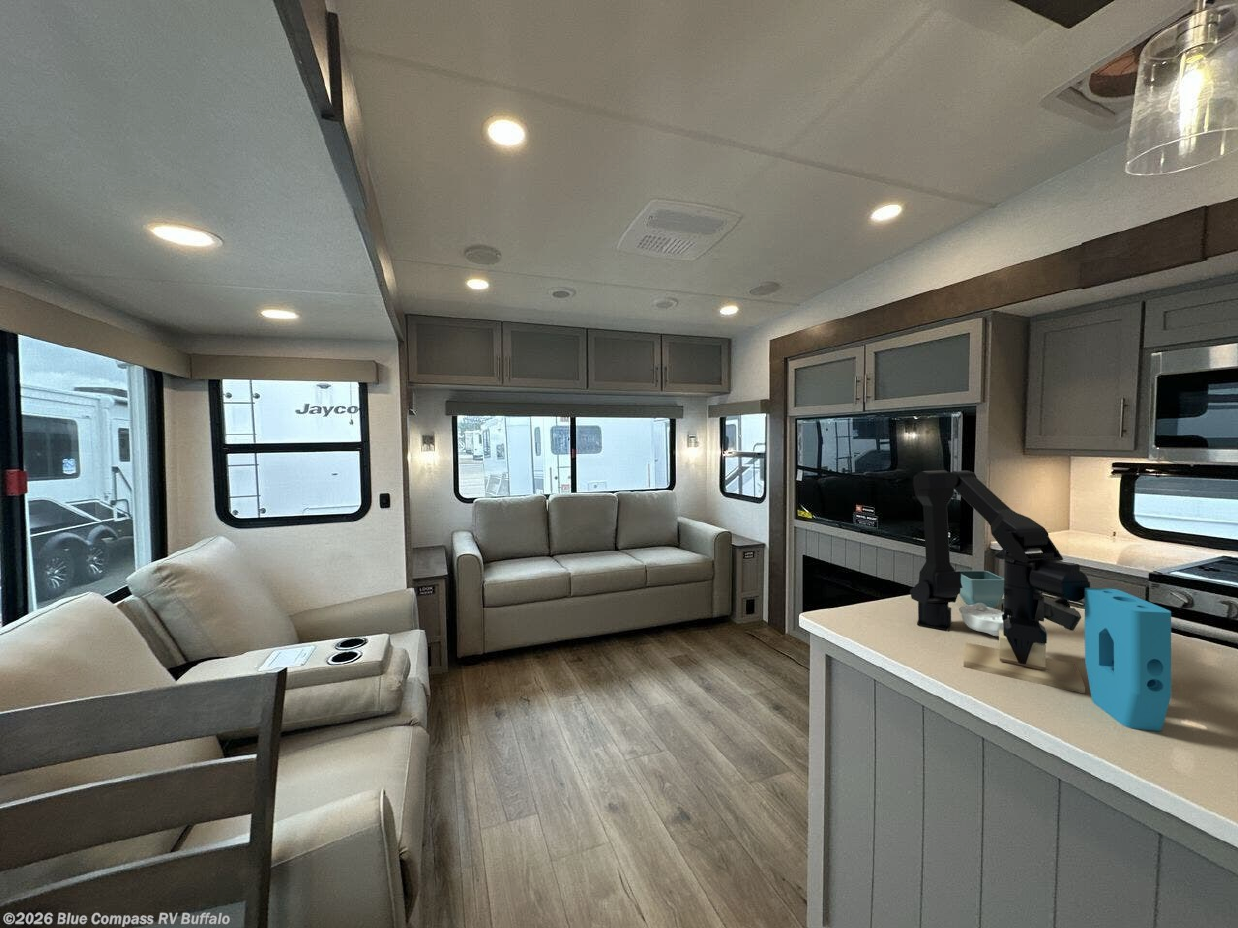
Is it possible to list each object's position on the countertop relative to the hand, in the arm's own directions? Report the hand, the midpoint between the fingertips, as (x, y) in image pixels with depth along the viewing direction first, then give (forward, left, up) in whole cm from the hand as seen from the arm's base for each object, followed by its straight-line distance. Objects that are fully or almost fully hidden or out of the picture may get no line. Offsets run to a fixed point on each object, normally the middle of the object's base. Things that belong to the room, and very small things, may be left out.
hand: (1021, 658), depth 94 cm
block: (+13, -11, -2) cm, 17 cm away
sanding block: (0, 0, -1) cm, 0 cm away
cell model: (-5, +18, -2) cm, 19 cm away
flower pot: (-7, +39, -2) cm, 40 cm away
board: (0, 0, -2) cm, 2 cm away
